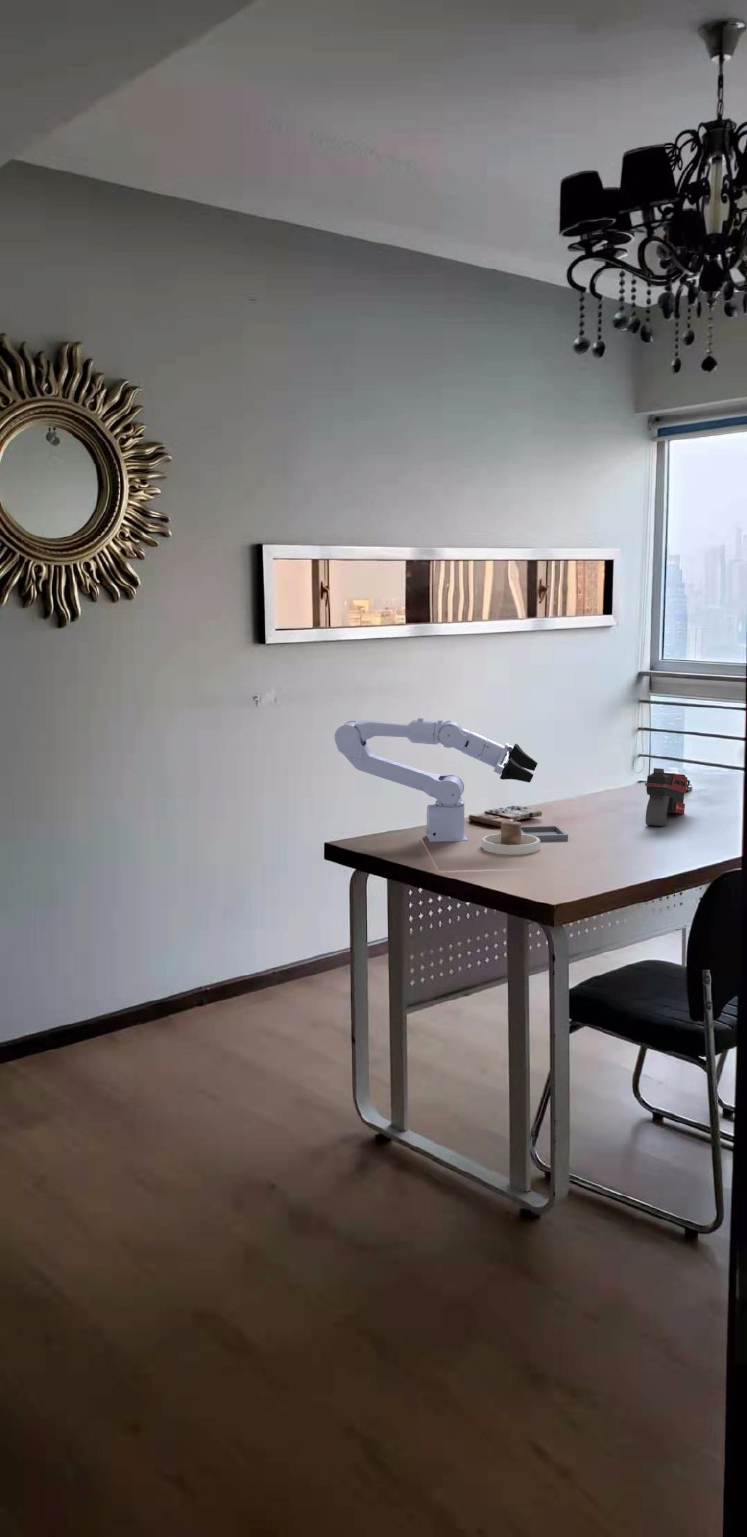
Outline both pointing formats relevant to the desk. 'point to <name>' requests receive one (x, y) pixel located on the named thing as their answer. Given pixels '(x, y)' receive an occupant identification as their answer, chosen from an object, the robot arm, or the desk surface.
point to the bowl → (527, 845)
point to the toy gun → (664, 796)
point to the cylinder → (511, 833)
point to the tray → (545, 832)
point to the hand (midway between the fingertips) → (533, 772)
